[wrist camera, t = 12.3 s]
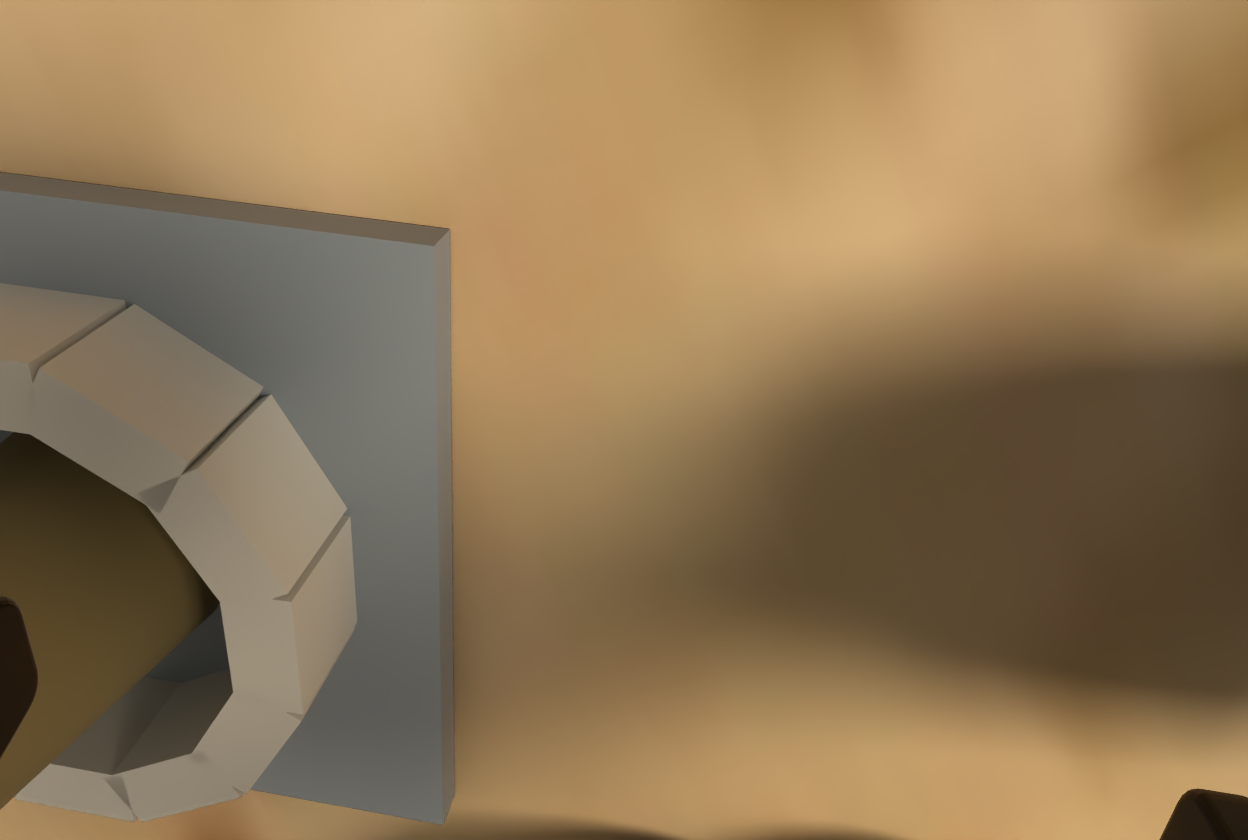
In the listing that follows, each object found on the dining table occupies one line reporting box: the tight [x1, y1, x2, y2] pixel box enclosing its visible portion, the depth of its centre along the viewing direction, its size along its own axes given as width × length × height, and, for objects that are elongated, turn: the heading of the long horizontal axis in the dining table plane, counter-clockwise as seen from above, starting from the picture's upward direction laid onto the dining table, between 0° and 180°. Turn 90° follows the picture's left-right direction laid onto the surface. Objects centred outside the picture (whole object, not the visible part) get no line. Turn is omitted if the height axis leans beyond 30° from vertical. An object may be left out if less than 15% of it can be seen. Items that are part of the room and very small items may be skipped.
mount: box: [0, 172, 454, 825], centre depth 23 cm, size 16×16×4 cm
